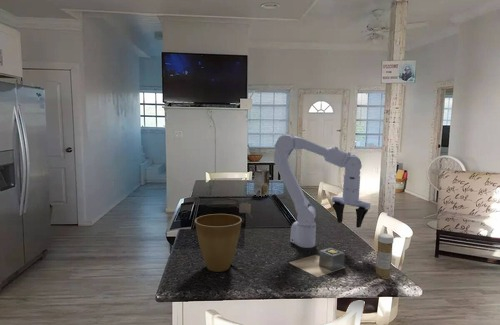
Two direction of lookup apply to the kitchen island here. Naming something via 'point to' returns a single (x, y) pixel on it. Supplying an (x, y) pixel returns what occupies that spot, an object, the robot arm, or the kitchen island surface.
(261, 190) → the coffee box
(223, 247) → the plant pot
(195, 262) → the kitchen island surface
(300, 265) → the plate
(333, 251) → the brass post
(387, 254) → the sprinkles bottle
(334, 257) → the grey hollow square block
